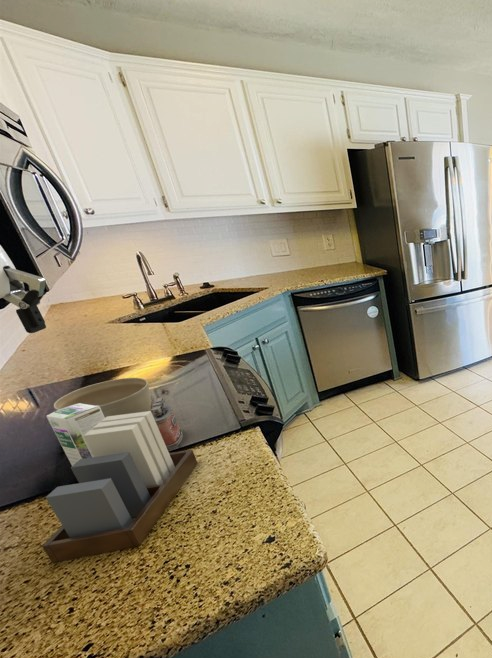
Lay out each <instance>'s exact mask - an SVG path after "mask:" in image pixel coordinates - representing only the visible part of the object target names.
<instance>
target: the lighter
mask: <svg viewBox="0 0 492 658" xmlns="http://www.w3.org/2000/svg"><path fill="white" fill-rule="evenodd" d="M151 407H152V411H153V412H152V415H153V417H154V420H155V422H156V424H157V426H158V429H159V431H160V433H161V436H162V438H163V440H164V443H165V445H166V447H167V450H171V449H174V448H176V447H178V446H179V445H180V443H181V442H182V439H183V436H184V435H183V434H184V433H183V431H182V429H181V428H180V426H179V424H178V422H177V417H176V415H175V414H174V412H173V406H172V404H166V401H165V398H164V397H158V398H157V399H156V402H155V403H152V404H151ZM181 434H182V435H181Z"/></svg>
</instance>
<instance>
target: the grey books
mask: <svg viewBox="0 0 492 658" xmlns="http://www.w3.org/2000/svg"><path fill="white" fill-rule="evenodd" d="M70 469H71V471H72V473H73V475H74V476H75V478H76V480H77V482H78V483H72V484H65V485H60V486H57V487H55V488H54V489H53V490H52V491H51V492H50V493H48V494H47V495H46V496H45V499H46V501H47V502H48V504H49V506H50V508H51V510H52V511H53V513H54V514H55V516H56V518H57V519H58V521H59V523H60V524H61V526H63V527H64V529H65V531H66V532H67V534H68V536H69V537H70V538H74V537H80V536H85V535H90V534H96V533H101V532H107V531H112V530H117V529H123V528H128V527H129V526H130V525H131V524H132V522H133V521H134V519H135V518H136V517H137V516H138V515H139V513H140V512H141V511H142V509H143V508H144V507H145V505H146V504H147V503H148V502H149V500H150V499H151V496H150V494H149V492H148V490H147V488H146V486H145V484H144V482H143V480H142V477H141V475H140V473H139V471H138V469H137V467H136V465H135V463H134V461H133V458H132V456H131V454H130V452H126V453H119V454H112V455H105V456H99V457H92V458H85V459H80V460H79V461H78V462H76V463H75V464H74V465H73V466H72V465H71V467H70Z"/></svg>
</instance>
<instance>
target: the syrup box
mask: <svg viewBox="0 0 492 658" xmlns="http://www.w3.org/2000/svg"><path fill="white" fill-rule="evenodd" d="M104 418H105V417H104V415H103V413H102V411H101V408H100V406H94V405H88V404H81V403H78V404H75V405H71V406H68V407H65V408H63V409H60V410H58V411H56V410H55V411H53V412H51V413H49V414H47V415H46V419H47V420H48V423H49V424H50V426H51V429H52V430H53V432H54V434H55V436H56V437H57V440H58V442H59V444H60V446H61V447H62V449H63V452H64V454H65V456H66V457H67V459H68V461H69V463H70V465H71V467H72V466H73V465H74V464H75V463H76V462H78V461H79V460H80V459H85V458H92V457H94V455H93V453H92V451H91V449H90V448H89V446H88V444H87V442H86V440H85V438H84V435H85V434H86V433H87V432H89V431H90V430H94V429H93V427H94V426H96V425H97V424H98V423H101V421H102V420H103V419H104Z"/></svg>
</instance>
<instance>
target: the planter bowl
mask: <svg viewBox="0 0 492 658" xmlns="http://www.w3.org/2000/svg"><path fill="white" fill-rule="evenodd" d="M78 403H81V404H88V405H94V406H100V408H101V411H102V413H103V415H104V417H105V418H106V417H108V416H116V415H123V414H131V413H139V412H147V411H151V409H152V394H151V390H150V385H149V381H148V380H147V379H145V378H142V377H123V378H115V379H111V380H105V381H102V382H98V383H97V382H96V383H94V384H90V385H87V386H84V387H80V388H78V389H76V390H73V391H71V392H69V393H67V394H65V395H62V396H60V398H58V399H57V400H56V401H54V403H53V409H54V410H55V411H58V410H60V409H63V408H65V407H68V406H71V405H75V404H78Z"/></svg>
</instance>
